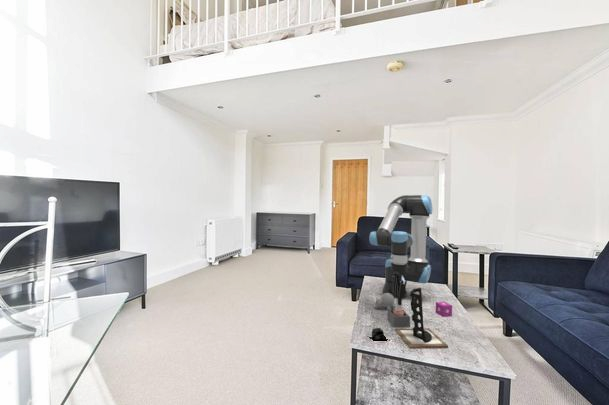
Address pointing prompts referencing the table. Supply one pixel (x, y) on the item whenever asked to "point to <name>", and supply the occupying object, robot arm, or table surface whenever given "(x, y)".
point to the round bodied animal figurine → (385, 301)
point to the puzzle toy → (443, 309)
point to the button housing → (399, 319)
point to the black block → (378, 335)
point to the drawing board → (418, 343)
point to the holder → (415, 316)
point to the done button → (398, 313)
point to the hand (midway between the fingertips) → (398, 310)
